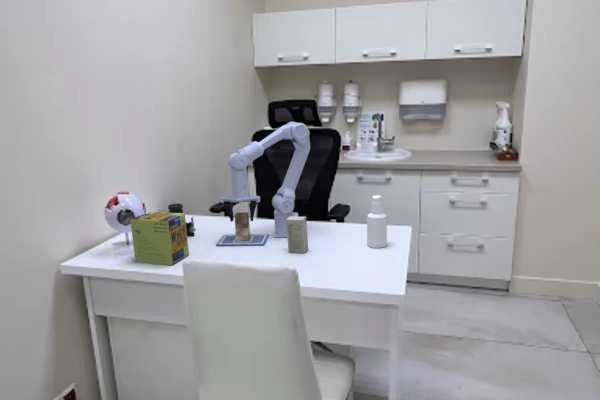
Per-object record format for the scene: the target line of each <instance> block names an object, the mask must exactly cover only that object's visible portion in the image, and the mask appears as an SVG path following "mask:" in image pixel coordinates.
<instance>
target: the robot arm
mask: <svg viewBox="0 0 600 400" xmlns="http://www.w3.org/2000/svg"><path fill="white" fill-rule="evenodd" d="M310 133H311V132H310V130H309V128H308V127H307V125H306V124H304V123H303V122H296V121H289V122H287V123H286V124H284V125H282V126H281V127H279V128H277V129H276V130H274V131H273V132H272V133H270V134H268V135H267V136H266V137H265V138H263V139H262V140H260V141H259V142H258V141H256V140H255V141H250V142H248V144H247V146H245V147H243V148H242V149H240V148H238V150H237V152H233V153H231V154H230V155H229V157H228V160H227V163H228V165H229V167H230V182H231V193H232V194H231V196H221V197H220V204H223V208H224V209H225V211H226V213H227V215H228V217H229V220H230V222H234V221H235V217H234V210H233V209H234V207H233V203H248V206H249V207H248V208H249V212H250V213H249V214H250V215H249V221H250V222H253V221H254V216H255V212H256V208H257V205H258V203H261V195H260V196H259V195H249V193H248V179H247V178H248V177H247V169H246V168H247V166H248V164H251V163H252V162H253V161H255V160H256V159H258V158H259V157H261V156H263V154H264V151H265V150H266V149H267V148H270V147H271V146H273V145H274V144H277V143H278V142H279V141H282V140H290V141H291V143H293V146H294V148H295V150H294V152H293V154H292V155H293V156H292V158H291V161H290V163H289V167H288V169H287V171H286V174H285V177H284V179H283V183H282V185H281V187H280V188H278V190H277V193H276V194H274V196H273V197H272V200H271V204H272V205H271V206H272V207H273V208H274V211H273V216H274V217H273V218H274V233H273V236H272V237H273V238H287V226H286V219H287V218H289V217H290V216H297V217H299V213H298V212H294V208H295V200H296V194H295V193H296V192H295V191H296V190H297V189H296V188H297V185H298V183H299V180H300V177H301V175H302V173H303V170H304V168H305V163H306V162H307V159H308V156H309V153H310V150H311V141H310Z"/></svg>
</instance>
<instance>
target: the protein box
mask: <svg viewBox="0 0 600 400" xmlns="http://www.w3.org/2000/svg"><path fill="white" fill-rule="evenodd" d="M129 221H130V227H131V228H130V230H131V236H132V245H133V253H134V261H135V262H136V263H143V264H144V263H145V264H146V263H147V264H153V265H154V264H155V265H165V266H174V265H175V264H178V263H180V262H181V261H182V260H184V259H185V258H187V257H188V256H190V252H189V251H190V250H189V240H188V237H187V230H186V223H187V221H186V213H184V212H183V213H169V211H168V212H164V211H163V212H162V211H161V212H159V211H147V212H145V213H142V214H140V215H138V216H135V217H132V218H130V220H129Z"/></svg>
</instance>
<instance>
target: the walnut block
mask: <svg viewBox="0 0 600 400" xmlns="http://www.w3.org/2000/svg"><path fill="white" fill-rule="evenodd" d="M249 212H250V211H249ZM249 212H236V213H235V215H233V217H234V227H235V229H243V228H248V226H250V215H249V214H250V213H249ZM235 229H234V230H235Z"/></svg>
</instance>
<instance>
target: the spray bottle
mask: <svg viewBox="0 0 600 400" xmlns="http://www.w3.org/2000/svg"><path fill="white" fill-rule="evenodd" d="M387 221H388V216H387V214H386V213H384V209H383V196H382V195H371V206H370V213H368V214H367V216H366V226H367V227H366V231H367V232H366V233H367V235H366V236H367V240H366V241H367V246H368V247H370V248H373V249H382V248H385V247H387V245H388V244H387V240H388V239H387V238H388V236H387V235H388V234H387V233H388V232H387V230H388V228H387V227H388V222H387Z"/></svg>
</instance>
